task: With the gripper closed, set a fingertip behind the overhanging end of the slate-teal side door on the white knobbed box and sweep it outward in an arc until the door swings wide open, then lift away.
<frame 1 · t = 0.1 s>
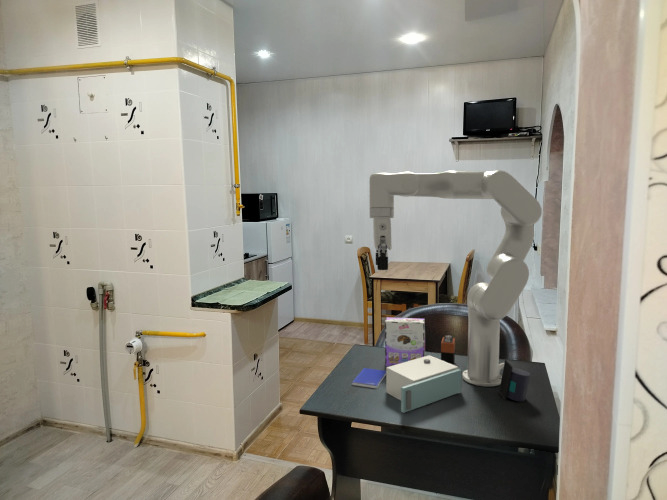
hand: (381, 267, 143), 37 cm above the table, tool pointing down, fingers open, 9 cm apart
battery: (447, 365, 159), on the table
hard drive: (369, 381, 148), on the table
candy box: (404, 364, 160), on the table
side door: (434, 390, 130), point 4 cm above the table, hinge at 0.0°
white knobbed box: (421, 392, 138), on the table
speaker: (514, 397, 133), on the table
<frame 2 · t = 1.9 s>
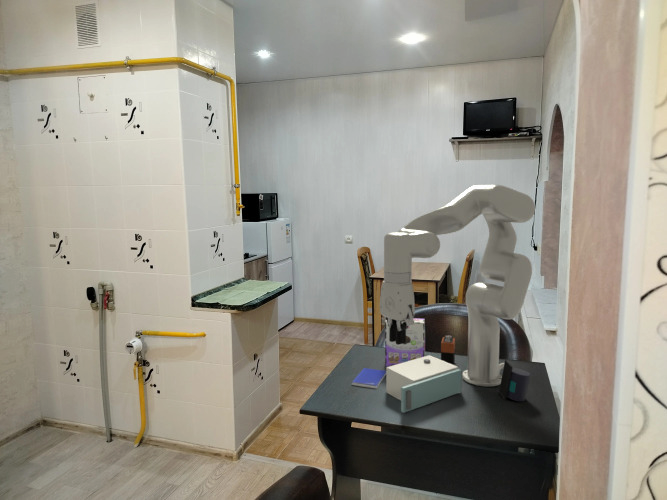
hand: (397, 341, 126), 19 cm above the table, tool pointing down, fingers closed
nothing on the table moved.
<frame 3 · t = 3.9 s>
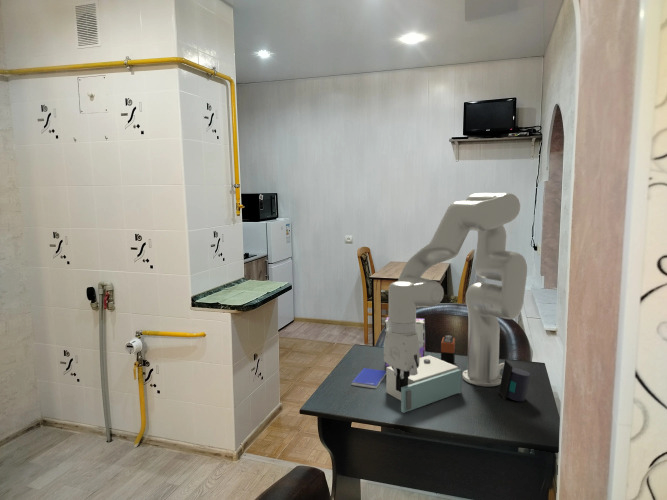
hand: (401, 389, 127), 6 cm above the table, tool pointing down, fingers closed
side door: (434, 390, 130), point 4 cm above the table, hinge at 0.1°, touching gripper
everything else where it was.
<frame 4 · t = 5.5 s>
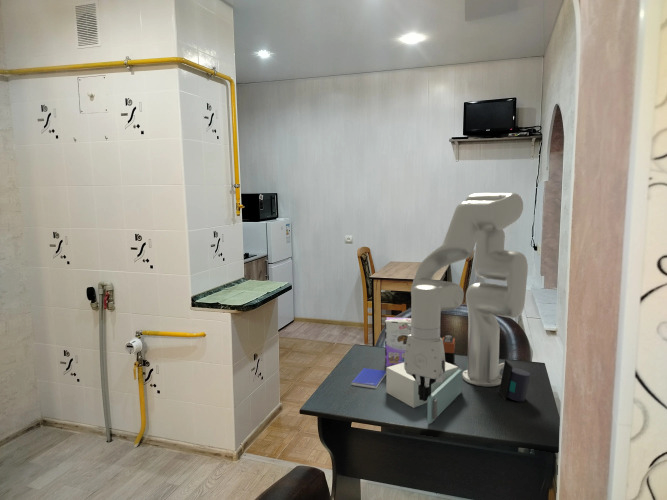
hand: (424, 398, 121), 6 cm above the table, tool pointing down, fingers closed
side door: (447, 394, 127), point 4 cm above the table, hinge at 21.7°, touching gripper
everything else where it was.
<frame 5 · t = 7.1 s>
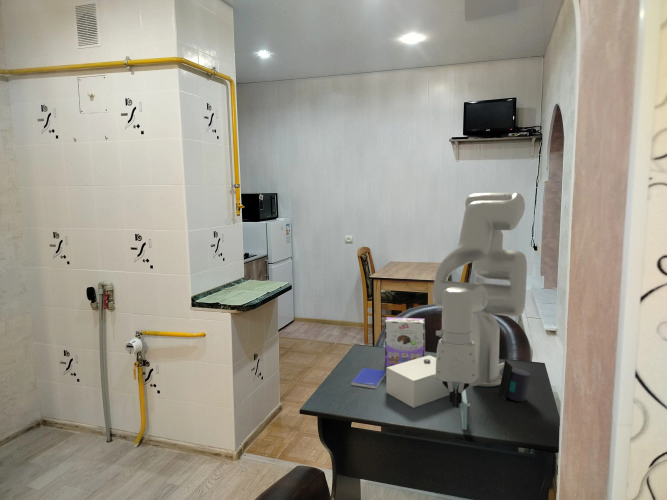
hand: (455, 405, 117), 6 cm above the table, tool pointing down, fingers closed
side door: (463, 396, 126), point 4 cm above the table, hinge at 44.3°, touching gripper
everything else where it was.
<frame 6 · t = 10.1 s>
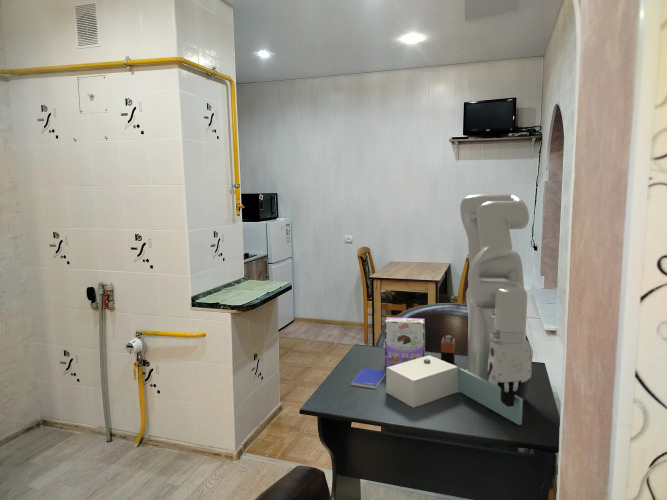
hand: (507, 404, 117), 6 cm above the table, tool pointing down, fingers closed
side door: (488, 393, 127), point 4 cm above the table, hinge at 82.7°, touching gripper
everything else where it was.
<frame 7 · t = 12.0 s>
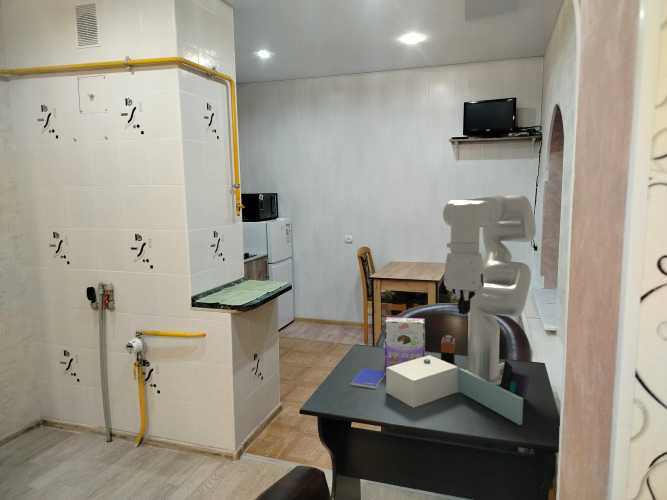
hand: (464, 312, 126), 27 cm above the table, tool pointing down, fingers closed
side door: (488, 393, 127), point 4 cm above the table, hinge at 83.1°
everything else where it was.
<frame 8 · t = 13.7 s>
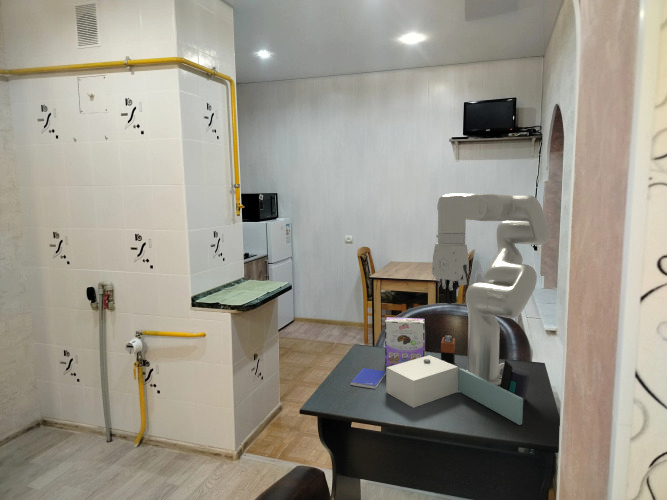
hand: (450, 302, 129), 29 cm above the table, tool pointing down, fingers closed
nothing on the table moved.
at the end: side door at +83° (first picture: +0°) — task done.
